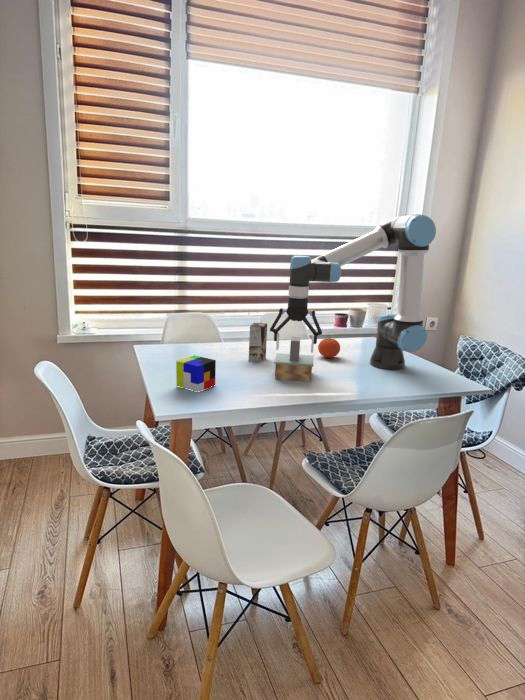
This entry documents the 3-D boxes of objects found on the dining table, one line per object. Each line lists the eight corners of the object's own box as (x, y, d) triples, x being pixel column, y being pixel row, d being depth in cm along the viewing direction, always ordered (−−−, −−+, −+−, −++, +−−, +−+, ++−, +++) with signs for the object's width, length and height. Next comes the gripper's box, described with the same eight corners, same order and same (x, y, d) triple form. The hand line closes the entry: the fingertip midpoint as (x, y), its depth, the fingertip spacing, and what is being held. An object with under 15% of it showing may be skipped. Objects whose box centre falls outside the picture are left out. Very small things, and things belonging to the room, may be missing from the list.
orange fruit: (339, 355, 223) (341, 335, 220) (339, 361, 213) (341, 340, 210) (318, 353, 224) (319, 333, 222) (316, 359, 215) (318, 338, 212)
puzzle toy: (197, 393, 165) (198, 366, 163) (176, 387, 170) (176, 361, 168) (215, 386, 174) (215, 360, 171) (194, 380, 179) (194, 355, 176)
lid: (313, 361, 191) (314, 336, 189) (313, 370, 179) (314, 344, 176) (276, 358, 193) (277, 334, 190) (274, 367, 180) (275, 341, 178)
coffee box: (262, 363, 205) (263, 327, 201) (248, 361, 206) (249, 325, 202) (266, 357, 214) (267, 323, 210) (252, 356, 215) (253, 322, 211)
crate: (310, 374, 192) (312, 357, 191) (310, 383, 181) (312, 366, 179) (277, 371, 194) (277, 355, 192) (274, 380, 182) (275, 363, 180)
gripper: (330, 297, 181) (326, 350, 187) (266, 293, 184) (264, 345, 189) (331, 300, 174) (326, 355, 180) (264, 296, 176) (262, 350, 182)
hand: (294, 350), depth 184 cm, fingers open, 13 cm apart
